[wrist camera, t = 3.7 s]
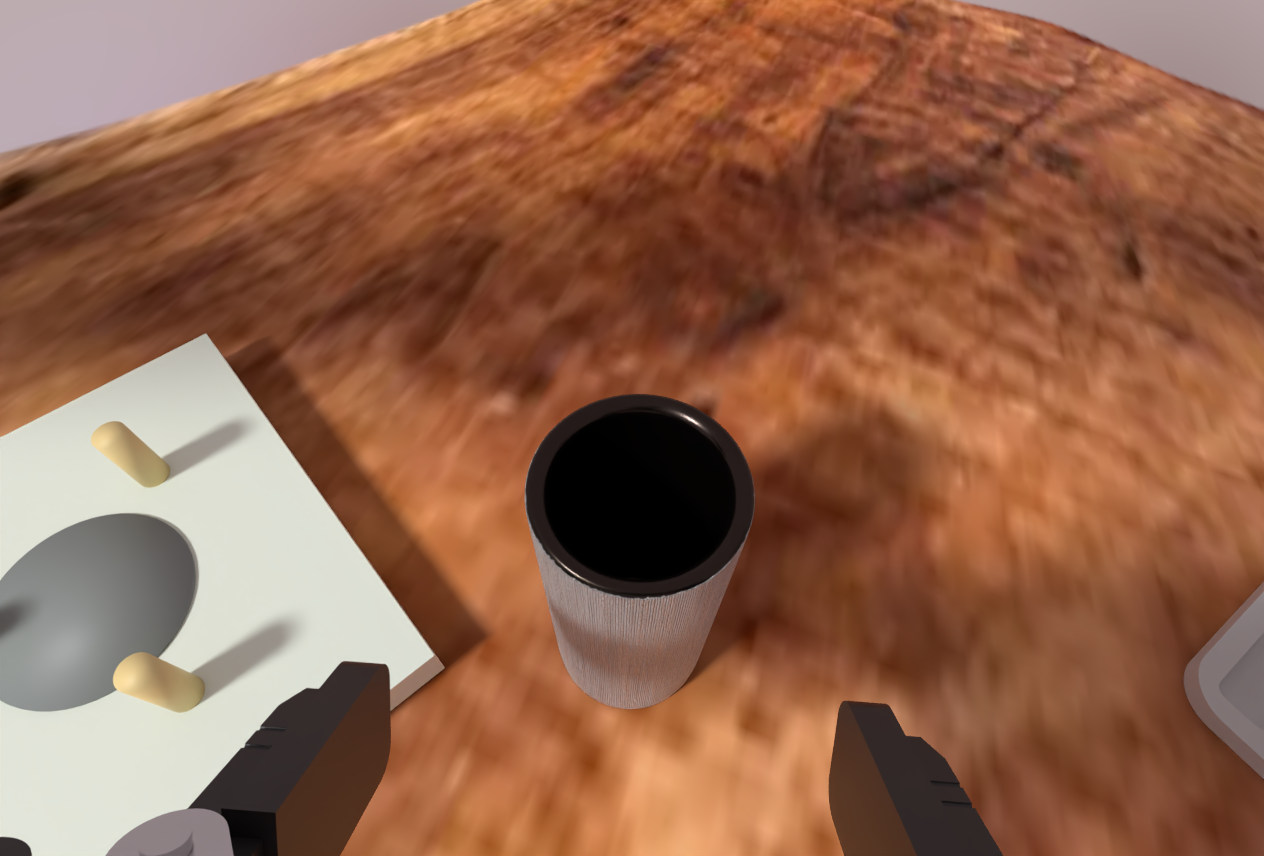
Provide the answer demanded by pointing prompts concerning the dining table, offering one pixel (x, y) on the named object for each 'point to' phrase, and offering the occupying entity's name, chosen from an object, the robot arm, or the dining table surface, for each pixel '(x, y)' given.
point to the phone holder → (1233, 682)
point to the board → (165, 599)
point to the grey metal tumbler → (636, 540)
